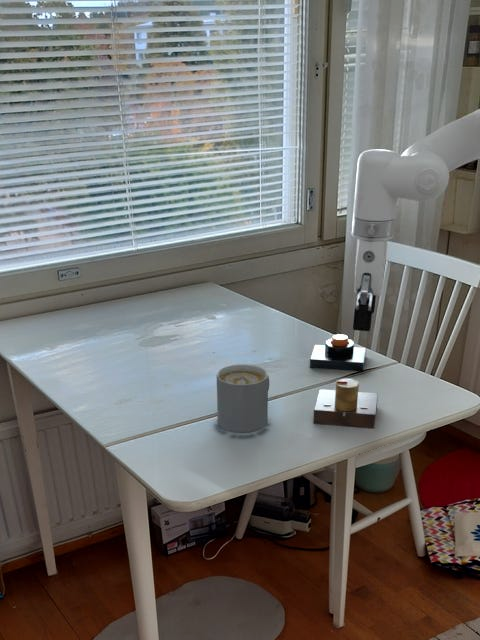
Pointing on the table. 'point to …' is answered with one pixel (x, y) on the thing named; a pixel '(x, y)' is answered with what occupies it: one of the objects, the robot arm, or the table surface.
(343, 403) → the dial
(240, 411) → the coffee mug
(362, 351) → the button box
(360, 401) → the dial panel
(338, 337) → the button
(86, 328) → the table surface
